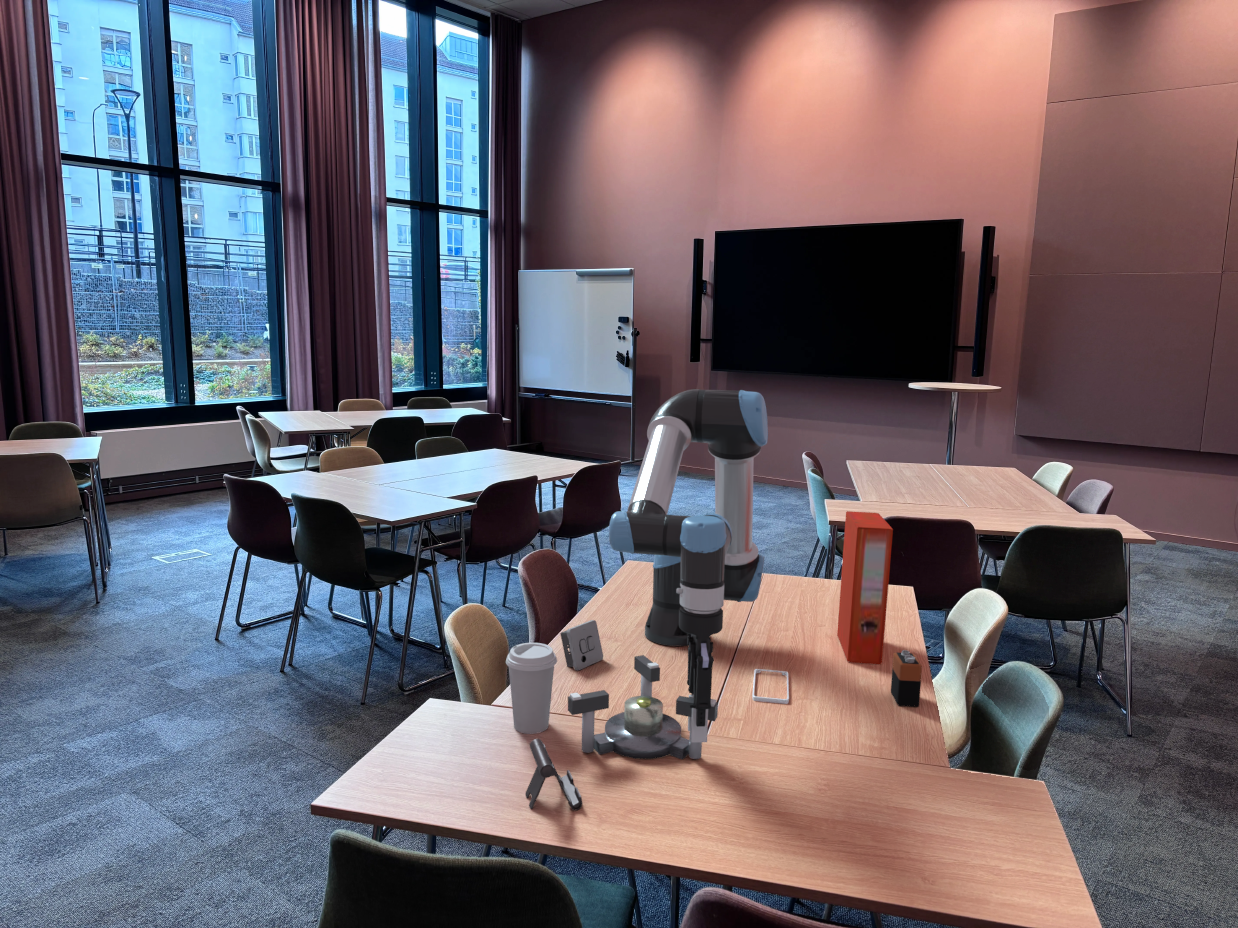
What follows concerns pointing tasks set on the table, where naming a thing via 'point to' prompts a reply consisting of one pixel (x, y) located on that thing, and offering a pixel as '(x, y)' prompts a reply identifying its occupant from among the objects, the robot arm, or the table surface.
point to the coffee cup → (531, 685)
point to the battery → (906, 679)
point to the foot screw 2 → (646, 673)
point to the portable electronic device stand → (547, 770)
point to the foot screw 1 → (588, 713)
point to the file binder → (864, 587)
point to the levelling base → (642, 743)
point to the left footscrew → (685, 710)
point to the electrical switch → (582, 645)
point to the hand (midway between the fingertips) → (697, 735)
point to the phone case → (773, 700)
